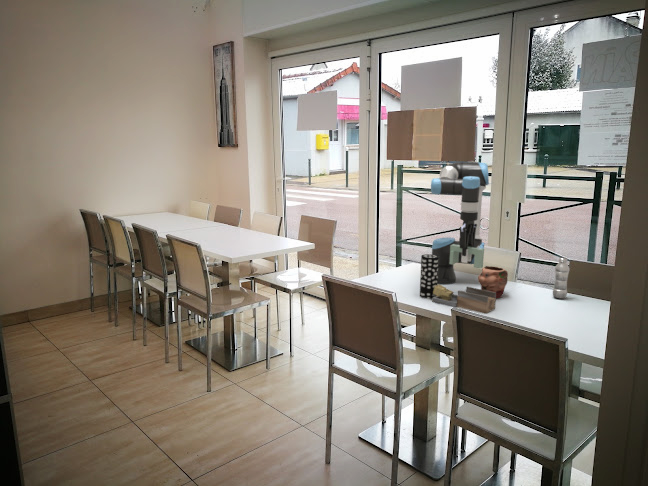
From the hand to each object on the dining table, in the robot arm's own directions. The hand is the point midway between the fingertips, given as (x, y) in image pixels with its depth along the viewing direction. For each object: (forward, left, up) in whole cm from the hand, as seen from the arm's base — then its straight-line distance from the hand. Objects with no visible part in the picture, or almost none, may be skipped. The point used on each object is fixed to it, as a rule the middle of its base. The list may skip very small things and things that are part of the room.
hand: (466, 261), depth 236 cm
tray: (+2, -6, -20) cm, 21 cm away
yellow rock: (+2, -10, -16) cm, 19 cm away
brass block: (+2, -7, -15) cm, 17 cm away
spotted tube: (+1, -18, -20) cm, 27 cm away
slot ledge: (+2, +7, -20) cm, 21 cm away
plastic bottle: (-39, +31, -20) cm, 54 cm away
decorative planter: (-22, +5, -20) cm, 30 cm away
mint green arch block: (0, 0, -2) cm, 2 cm away
